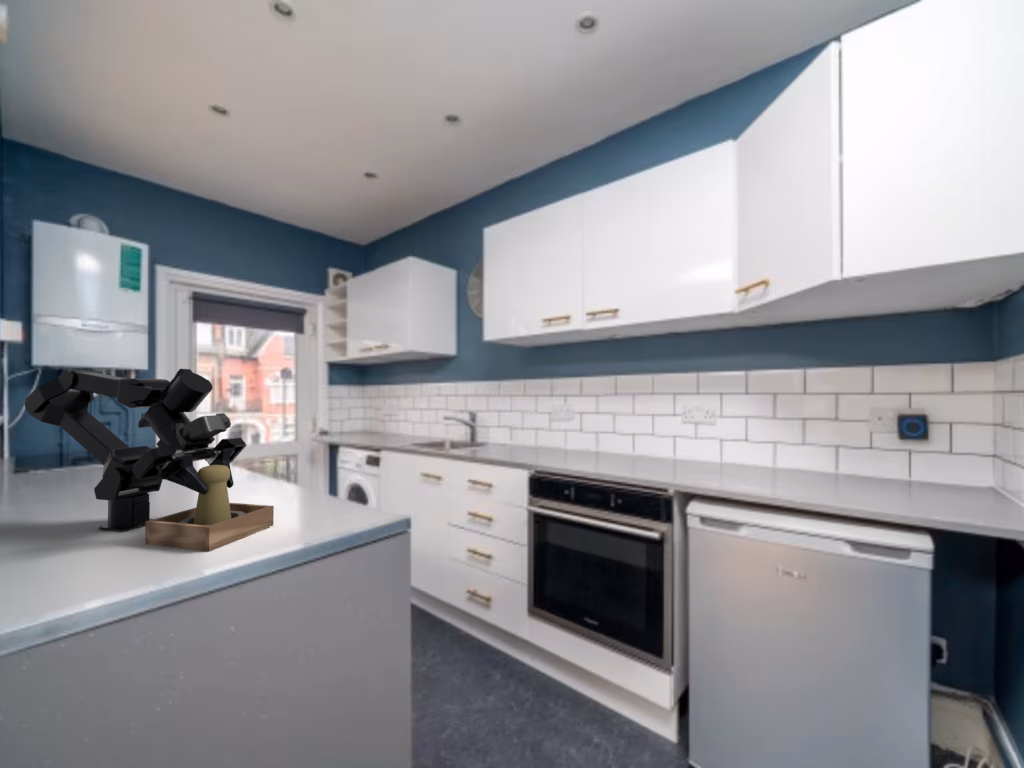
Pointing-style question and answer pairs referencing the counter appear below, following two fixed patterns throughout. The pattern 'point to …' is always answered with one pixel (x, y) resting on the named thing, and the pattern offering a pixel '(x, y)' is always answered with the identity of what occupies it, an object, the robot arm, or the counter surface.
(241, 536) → the socket box
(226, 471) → the olive knobbed peg
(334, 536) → the counter surface
